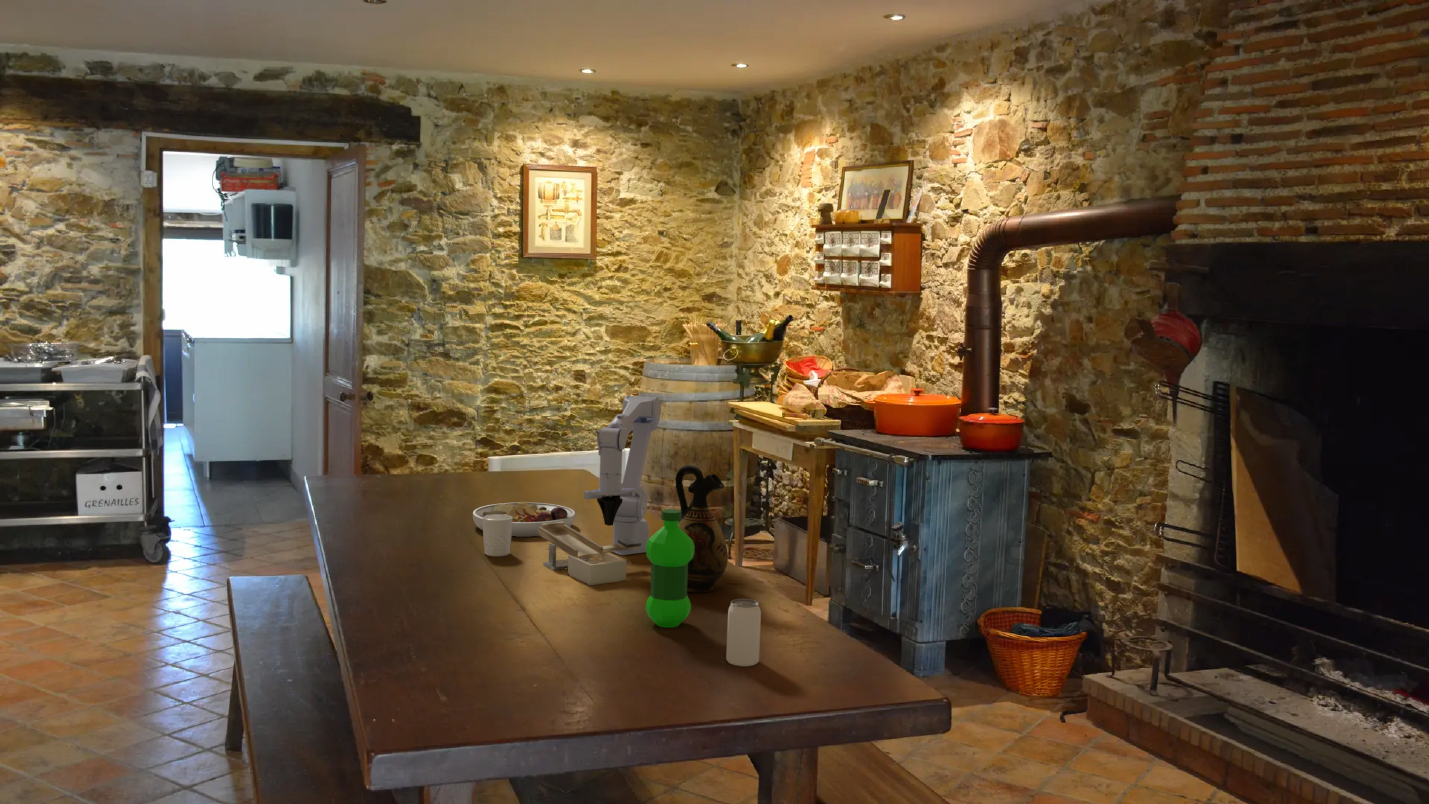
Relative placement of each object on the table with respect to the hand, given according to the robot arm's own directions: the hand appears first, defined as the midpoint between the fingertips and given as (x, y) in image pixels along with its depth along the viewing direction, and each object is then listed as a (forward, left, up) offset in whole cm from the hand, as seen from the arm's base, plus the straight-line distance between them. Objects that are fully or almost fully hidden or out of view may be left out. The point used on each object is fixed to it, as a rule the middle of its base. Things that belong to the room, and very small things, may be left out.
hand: (608, 524), depth 294 cm
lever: (+4, -3, -5) cm, 7 cm away
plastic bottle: (+16, +52, -11) cm, 55 cm away
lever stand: (+10, -3, -10) cm, 15 cm away
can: (+17, +80, -11) cm, 82 cm away
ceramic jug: (-6, +30, -11) cm, 32 cm away
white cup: (+21, -23, -11) cm, 33 cm away
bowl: (0, -49, -11) cm, 50 cm away
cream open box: (+10, +11, -10) cm, 18 cm away
